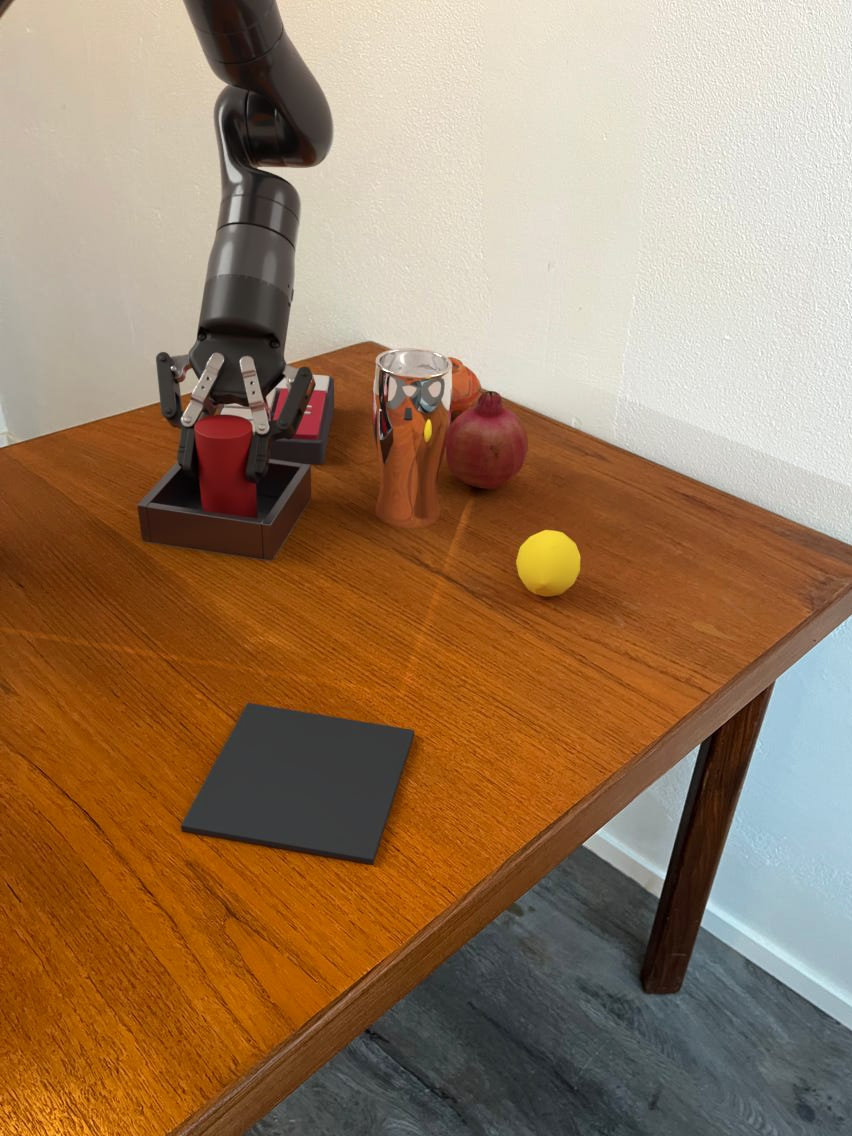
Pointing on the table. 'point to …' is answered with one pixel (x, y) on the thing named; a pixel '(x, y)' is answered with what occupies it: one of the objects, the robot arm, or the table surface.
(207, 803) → the mat
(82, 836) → the table surface
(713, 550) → the table surface
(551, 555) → the lemon
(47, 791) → the table surface
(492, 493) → the table surface
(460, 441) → the fruit
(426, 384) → the beer glass
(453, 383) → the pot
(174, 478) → the bin
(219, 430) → the canister
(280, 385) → the calculator
